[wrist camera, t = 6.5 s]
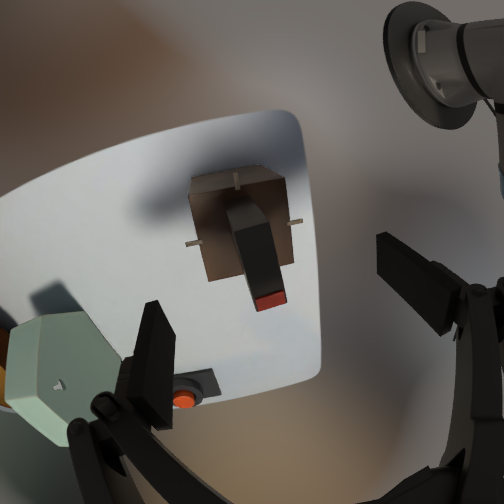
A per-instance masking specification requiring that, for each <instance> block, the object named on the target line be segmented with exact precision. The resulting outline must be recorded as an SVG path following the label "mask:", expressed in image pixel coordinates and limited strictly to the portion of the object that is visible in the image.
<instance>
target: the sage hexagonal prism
mask: <svg viewBox="0 0 504 504" xmlns="http://www.w3.org/2000/svg"><path fill="white" fill-rule="evenodd" d="M120 365H121V359H120V357H119V356H118V354H117V353H116V352H115V351H114V349H113V348H112V347H111V346H110V344H109V343H108V342H107V341H106V339H105V338H104V337H103V336H102V334H101V333H100V332H99V330H98V329H97V328H96V326H95V325H94V324H93V322H92V321H91V320H90V318H89V317H88V315H87V314H86V313H85V311H80V312H69V313H59V314H47V315H41V316H39V317H37V318H34V319H32V320H30V321H28V322H26V323H23V324H21V325H19V326H17V327H15V328H13V329H11V331H10V338H9V345H8V354H7V363H6V376H5V401H6V403H7V404H8V405H9V406H11V407H12V408H13V409H14V410H15V411H16V412H17V413H18V414H19V415H20V416H21V417H23V418H24V419H25V420H26V421H27V422H28V423H30V424H31V425H32V426H33V427H34V428H36V429H37V430H38V431H40V432H41V433H42V434H43V435H44V436H46V437H47V438H48V439H50V440H51V441H52V442H54V443H55V444H56V445H58V446H60V447H61V446H63V447H66V446H67V447H69V444H68V439H67V434H66V433H67V427H68V425H69V423H70V422H71V421H72V420H73V419H75V418H78V417H80V418H84V419H85V420H86V421H88V422H91V421H94V420H96V419H98V418H97V417H96V416H95V415H94V414H93V413H92V412H91V410H90V404H91V402H92V400H93V398H94V397H95V396H96V395H97V394H99V393H101V392H104V391H109V392H112V393H113V394H114V391H115V387H116V382H117V378H118V375H119V374H118V373H119V369H120ZM58 381H60V383H61V385H62V388H63V390H61V389H57V390H54V389H53V387H54V386H56V385H57V384H58Z"/></svg>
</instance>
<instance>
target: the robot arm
mask: <svg viewBox="0 0 504 504" xmlns="http://www.w3.org/2000/svg"><path fill="white" fill-rule="evenodd" d="M408 51H409V57H410V61H411V64H412V67H413V70H414V72H415V74H416V76H417V78H418V80H419V82H420V84H421V85H422V87H423V88H424V90H425V91H426V92H427V94H428V95H429V96H430V97H431V98H432V99H433V100H435V101H436V102H437V103H439V104H441V105H443V106H446V107H455V108H458V107H463V106H466V105H468V104H471V103H474V102H476V101H479V100H482V99H483V100H484V101H485V102H486V104H487V105H488V107H489V108H490V109H491V111H492V112H493V114H494V115H495V117H496V121H497V129H498V143H499V161H500V162H499V164H498V168H499V172H500V189H501V194H502V196H503V199H504V19H495V20H485V21H478V22H471V23H465V24H458V23H452V22H446V21H440V20H425V21H421V22H418V23H416V24H415V25H414V26H413V27H412V29H411V31H410V33H409V38H408ZM487 99H493V100H494V106H495V110H494V109H493V108H492V106H491V104H490V103H489V102H488V100H487ZM376 243H377V274H378V275H379V276H380V277H381V278H382V279H383V280H384V281H385V282H387V283H388V284H389V285H390V286H391V287H392V288H393V289H394V290H395V291H396V292H397V293H398V294H399V295H400V296H401V297H402V298H403V299H404V300H405V301H406V302H407V303H408V304H409V305H410V306H411V307H412V308H413V309H414V310H415V311H416V312H417V313H418V314H419V315H420V316H421V317H422V318H423V319H424V320H425V321H426V322H427V323H428V324H429V325H430V326H431V327H432V328H433V329H434V331H435V332H436V333H437V334H438V335H439V336H440V337H441V336H442V335H444V334H446V333H447V332H449V331H451V328H452V324H453V321H454V322H455V323H456V324H457V329H456V332H455V335H454V338H453V341H455V339H456V375H455V389H454V400H453V410H452V417H451V424H450V430H449V436H448V442H447V446H446V450H445V452H444V454H443V456H442V458H441V461H440V464H439V467H436V468H432V469H430V468H429V466H427V467H425V468H423V469H422V470H420V471H418V472H416V473H415V474H413V475H411V476H409V477H408V478H406V479H404V480H403V481H402V482H400V483H399V484H398V485H397V486H396V487H394V488H393V489H392V490H391V491H389V492H388V493H387V494H385V495H384V496H383V497H381V498H380V499H377V500H372V501H368V502H362V503H357V504H504V478H503V476H504V419H503V416H502V374H501V367H502V370H503V373H504V277H501V278H499V279H498V281H497V285H496V287H493V288H488V289H487V288H486V287H485V286H483V285H481V284H471V285H469V284H468V283H467V282H465V281H464V280H463V279H461V278H460V277H459V276H458V275H456V274H455V273H453V272H452V271H451V270H449V269H448V268H447V267H445V266H444V265H443V264H441V263H438V262H436V261H431V262H430V261H428V260H427V259H425V258H424V257H423V256H421V255H420V254H419V253H417V252H416V251H414V250H413V249H411V248H410V247H409V246H407V245H406V244H404V243H403V242H401V241H400V240H398V239H396V238H395V237H394V236H392V235H391V234H389V233H387V232H383V233H380V234H377V235H376ZM175 341H176V335H175V333H174V331H173V329H172V327H171V325H170V323H169V322H168V320H167V318H166V316H165V314H164V312H163V310H162V308H161V306H160V304H159V302H158V300H155V301H152V302H148V303H145V307H144V311H143V315H142V319H141V323H140V328H139V332H138V336H137V341H136V345H135V350H134V355H133V356H131V357H126V358H125V359H124V360H123V362H122V364H121V365H120V369H119V373H118V374H119V375H118V378H117V382H116V387H115V391H114V394H113V393H112V392H109V391H104V392H101V393H99V394H97V395H96V396H95V397H94V398H93V400H92V402H91V404H90V410H91V412H92V413H93V414H94V415H95V416H96V417H97V418H98V419H96V420H94V421H91V422H88V421H86V420H85V419H84V418H80V417H78V418H75V419H73V420H72V421H71V422H70V423H69V425H68V427H67V433H66V434H67V439H68V444H69V449H70V453H71V458H72V462H73V466H74V470H75V473H76V477H77V480H78V484H79V487H80V491H81V494H82V497H83V500H84V503H85V504H145V503H144V501H143V499H142V498H141V495H140V493H139V491H138V490H137V487H136V485H135V483H134V481H133V479H132V477H131V474H130V472H129V470H128V468H127V465H126V463H125V461H124V458H123V455H126V456H127V457H128V458H129V459H130V461H131V462H132V463H133V465H134V466H135V467H136V468H137V469H138V470H139V472H140V473H141V474H142V475H143V476H144V478H145V479H146V480H147V481H148V482H149V483H150V484H151V485H152V486H153V487H154V489H155V490H156V491H157V492H158V493H159V494H160V495H161V496H162V497H163V498H164V499H165V500H166V501H167V502H168V503H169V504H233V503H232V502H231V501H229V500H227V499H226V498H225V497H223V496H222V495H221V494H220V493H218V492H217V491H216V490H214V489H213V488H212V487H211V486H209V485H208V484H207V483H206V482H204V481H203V480H202V479H201V478H200V477H198V476H197V475H196V474H195V473H194V472H192V471H191V470H190V469H189V468H188V467H187V466H186V465H184V464H183V463H182V462H181V461H180V460H179V459H178V458H177V457H176V456H175V455H174V454H173V453H171V452H170V451H169V450H168V449H167V448H166V447H165V446H164V445H163V444H162V443H161V442H160V441H159V440H158V439H157V438H156V437H155V436H154V435H153V434H152V433H151V425H152V426H153V427H154V428H155V429H156V430H157V431H159V430H168V429H172V418H173V417H172V416H173V379H174V358H175Z"/></svg>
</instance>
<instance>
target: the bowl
mask: <svg viewBox="0 0 504 504" xmlns="http://www.w3.org/2000/svg"><path fill="white" fill-rule="evenodd" d="M9 338H10V334H9V333H8V332H7V331H6V330H5V329H3V328H2V327H0V405H1V406H4V407H7V408H12V407H11V406H9V405H8V404H7V403H6V401H5V376H6V363H7V354H8V345H9Z"/></svg>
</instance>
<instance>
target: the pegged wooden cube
mask: <svg viewBox="0 0 504 504" xmlns="http://www.w3.org/2000/svg"><path fill="white" fill-rule="evenodd" d="M248 195H249V196H250V197H251V198H252V200H253V201H254V202H255V204H256V205H257V206H258V207H259V209H260V210H261V211H262V213H263V214H264V215H265V216H266V218H267V219H268V220H269V222H270V225H271V229H272V234H273V238H274V242H275V247H276V251H277V256H278V261H279V265H280V266H283V265H287V264H292V263H294V257H293V246H292V236H291V226H290V225H294V224H299V223H303V219H297V220H292V221H290V216H289V207H288V198H287V189H286V181H285V177H283V176H281V175H279V174H278V173H276V172H274V171H272V170H270V169H268V168H267V167H265V166H263V165H261V164H256V165H250V166H244V167H239V168H233V169H228V170H223V171H218V172H213V173H208V174H203V175H198V176H193V177H191V183H190V189H189V195H188V198H189V202H190V207H191V211H192V216H193V220H194V225H195V229H196V233H197V237H198V240H195V241H190V242H186V243H185V244H186V247H189V246H193V245H198V244H199V246H200V250H201V254H202V258H203V262H204V266H205V270H206V274H207V277H208V281H209V282H210V281H215V280H219V279H224V278H229V277H233V276H238V275H242V274H244V272H243V269H242V266H241V263H240V259H239V256H238V253H237V249H236V246H235V242H234V239H233V235H232V232H231V228H230V225H229V221H228V218H227V215H226V211H225V208H224V204H223V203H224V202H227V201H231V200H234V199H238V198H241V197H245V196H248Z"/></svg>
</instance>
